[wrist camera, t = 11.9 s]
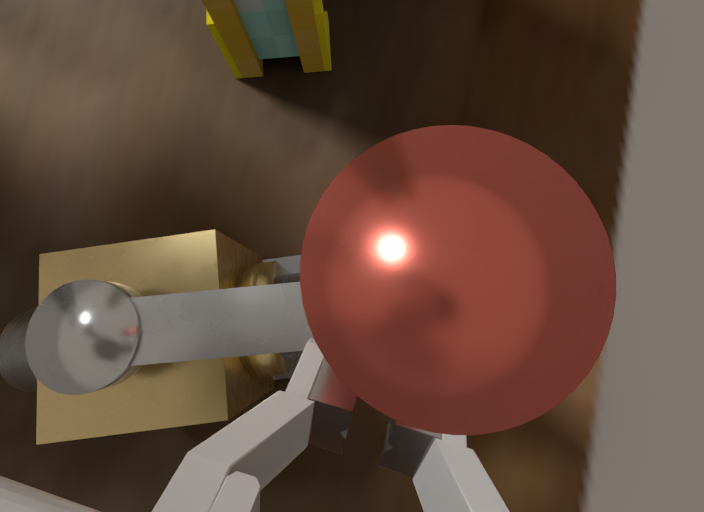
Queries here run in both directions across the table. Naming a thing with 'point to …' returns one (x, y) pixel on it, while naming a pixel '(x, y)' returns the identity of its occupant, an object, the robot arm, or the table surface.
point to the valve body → (163, 378)
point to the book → (269, 33)
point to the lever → (389, 291)
